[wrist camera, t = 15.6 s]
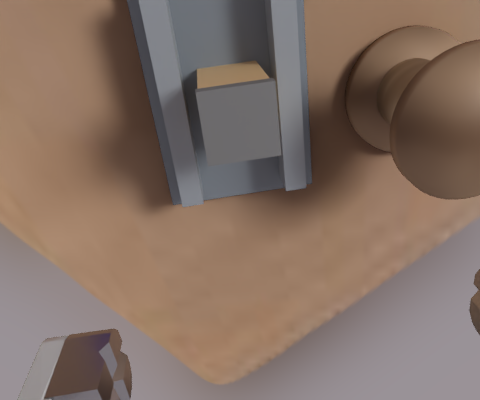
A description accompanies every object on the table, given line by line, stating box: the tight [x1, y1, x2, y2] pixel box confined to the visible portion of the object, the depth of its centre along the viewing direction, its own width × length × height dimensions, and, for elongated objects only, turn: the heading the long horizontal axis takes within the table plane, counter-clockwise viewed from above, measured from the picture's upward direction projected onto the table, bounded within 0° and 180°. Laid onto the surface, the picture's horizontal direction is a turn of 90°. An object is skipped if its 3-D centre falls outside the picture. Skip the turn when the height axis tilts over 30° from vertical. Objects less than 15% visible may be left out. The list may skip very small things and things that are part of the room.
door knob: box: [345, 26, 480, 199], centre depth 27 cm, size 9×9×9 cm
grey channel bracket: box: [127, 0, 312, 207], centre depth 28 cm, size 16×11×4 cm
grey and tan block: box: [195, 61, 281, 166], centre depth 26 cm, size 4×4×7 cm
